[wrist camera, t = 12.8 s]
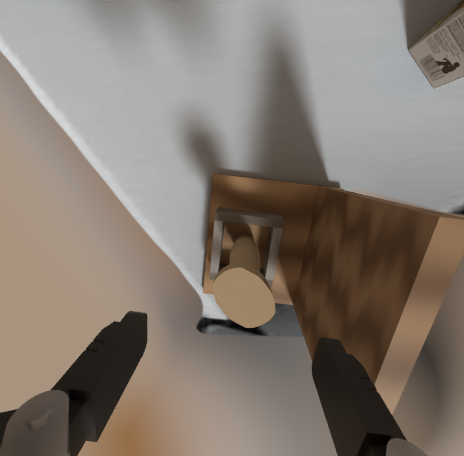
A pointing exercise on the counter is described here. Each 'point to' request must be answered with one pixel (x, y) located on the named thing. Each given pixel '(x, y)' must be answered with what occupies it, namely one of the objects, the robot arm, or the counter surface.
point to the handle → (244, 286)
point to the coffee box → (442, 48)
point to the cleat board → (343, 266)
